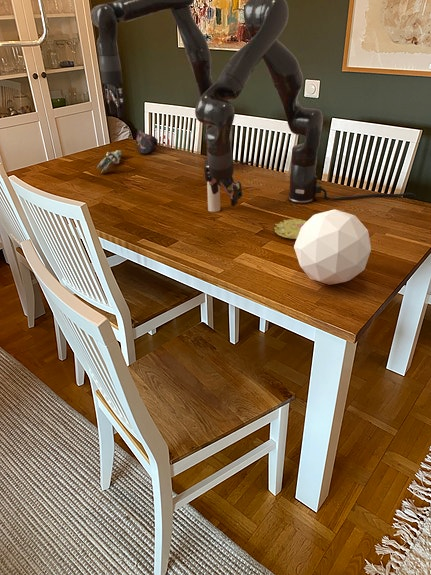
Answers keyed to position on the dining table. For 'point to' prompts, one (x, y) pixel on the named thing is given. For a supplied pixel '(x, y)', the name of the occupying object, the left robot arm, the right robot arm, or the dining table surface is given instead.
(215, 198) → the bottle
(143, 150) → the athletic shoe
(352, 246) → the sphere
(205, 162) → the lid
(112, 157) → the figurine
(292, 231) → the decorative object
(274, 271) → the dining table surface
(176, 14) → the left robot arm
